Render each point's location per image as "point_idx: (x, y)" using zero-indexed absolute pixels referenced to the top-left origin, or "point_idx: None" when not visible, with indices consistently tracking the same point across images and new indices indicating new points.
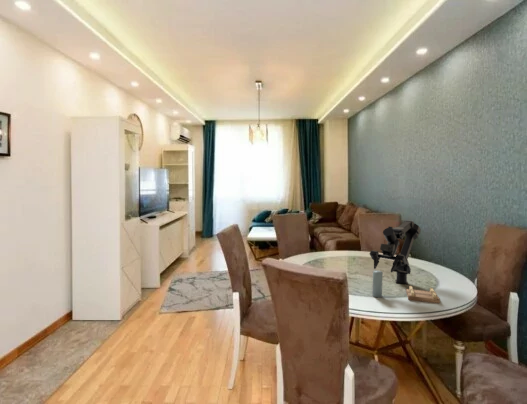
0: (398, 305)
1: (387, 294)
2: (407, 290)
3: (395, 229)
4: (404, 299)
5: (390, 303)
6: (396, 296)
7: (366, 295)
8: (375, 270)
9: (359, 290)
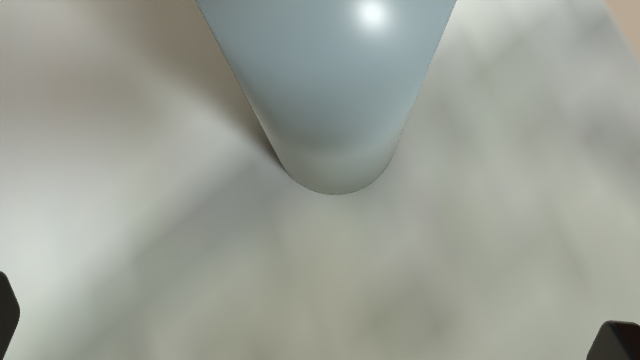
0: (39, 5)
1: (252, 302)
2: None
3: None
4: (20, 250)
5: (129, 8)
6: (131, 300)
7: (456, 82)
8: (434, 7)
9: (623, 212)
